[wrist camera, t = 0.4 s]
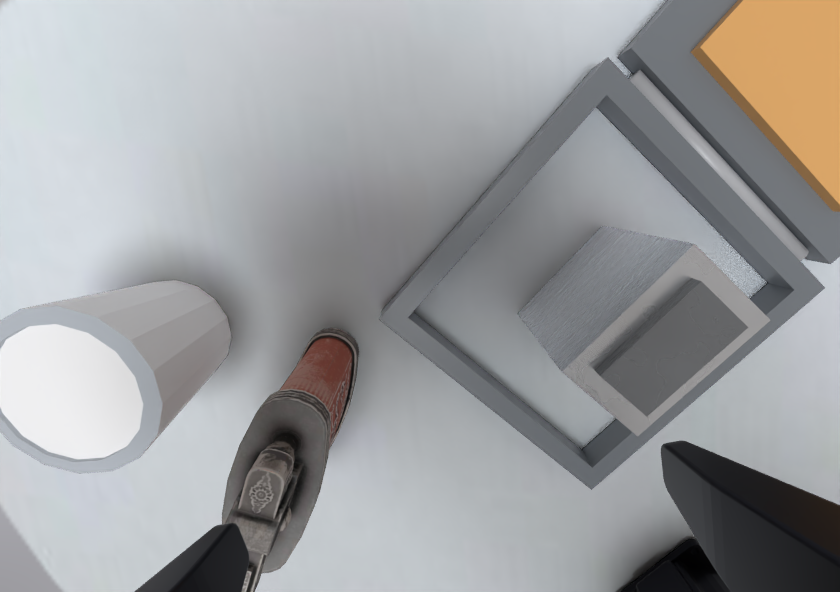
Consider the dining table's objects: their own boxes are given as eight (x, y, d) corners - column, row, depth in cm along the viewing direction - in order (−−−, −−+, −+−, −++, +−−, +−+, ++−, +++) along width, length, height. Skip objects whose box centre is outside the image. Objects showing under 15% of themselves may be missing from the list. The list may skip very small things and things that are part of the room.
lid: (1036, 56, 18) (1103, 41, 16) (790, 274, 20) (825, 282, 19) (850, -208, 15) (904, -259, 14) (600, 75, 18) (619, 63, 16)
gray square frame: (796, 280, 20) (825, 287, 19) (581, 471, 23) (591, 489, 22) (593, 67, 18) (608, 57, 17) (381, 310, 21) (378, 319, 20)
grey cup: (211, 251, 20) (105, 282, 14) (262, 371, 22) (191, 452, 15) (90, 288, 21) (-70, 336, 14) (149, 402, 23) (31, 494, 16)
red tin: (309, 319, 21) (214, 428, 12) (371, 339, 21) (327, 461, 12) (274, 444, 23) (167, 628, 14) (330, 461, 23) (266, 652, 14)
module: (656, 277, 20) (783, 325, 13) (570, 359, 22) (644, 444, 14) (602, 225, 20) (705, 245, 13) (517, 313, 21) (566, 378, 14)
